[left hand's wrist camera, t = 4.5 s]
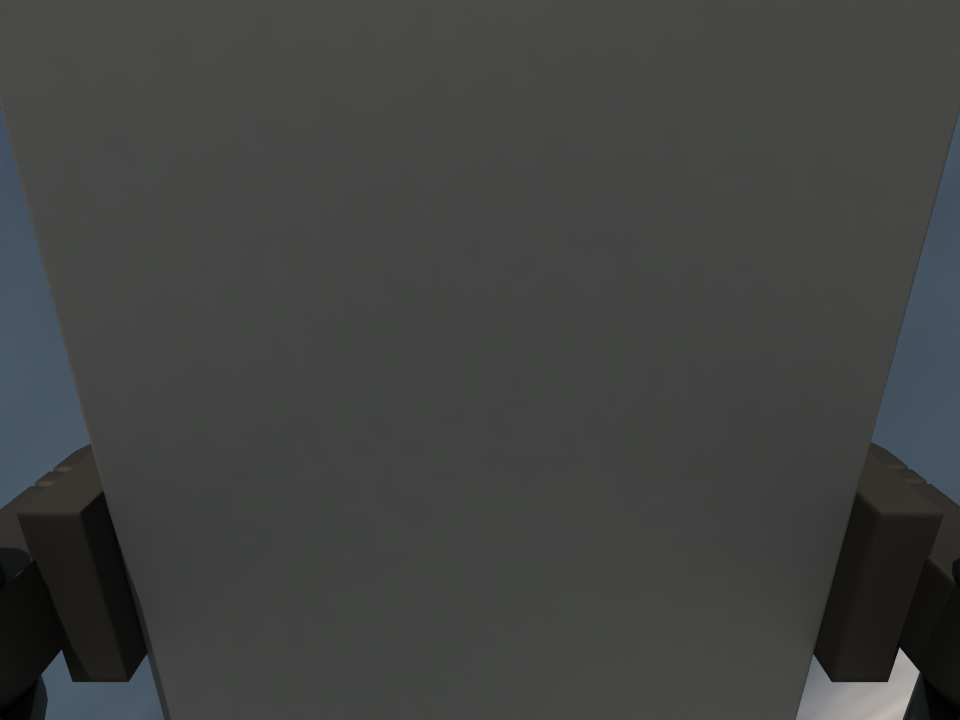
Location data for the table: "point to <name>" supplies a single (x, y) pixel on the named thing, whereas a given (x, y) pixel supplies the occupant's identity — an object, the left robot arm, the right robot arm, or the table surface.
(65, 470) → the left robot arm
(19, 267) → the table surface
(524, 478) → the thick board
